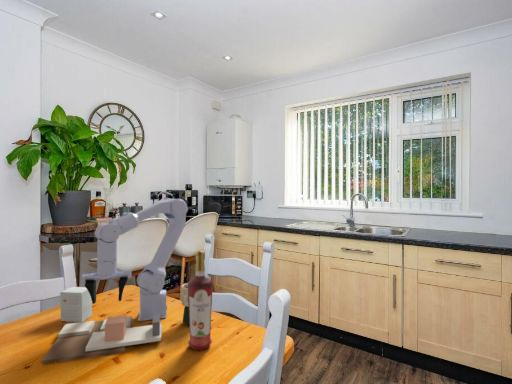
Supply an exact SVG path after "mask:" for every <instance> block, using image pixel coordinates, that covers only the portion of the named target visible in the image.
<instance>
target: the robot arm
mask: <svg viewBox="0 0 512 384" xmlns="http://www.w3.org/2000/svg"><path fill="white" fill-rule="evenodd" d="M188 211H189V208H188V205H187V203H186V201H185V200H184V199H182V198H169V197H167V198H164V199H161V200H158V201H156V202H154V203H153V204H151V205H148V206H146V208H144V209H141V210H140V211H137V212H136V213H134V212H130V211H129V212H127V211H126V212H123V213H122V215H120V216H119V217H116V218H114V219H113V218H111V219H108V221H109V222H108V223H107V222H102V223H100V224H99V225H98V226H97V227H96V228H95V231H94V237H95V239H97V243H96V244H97V247H96V249H97V250H96V254H97V255H96V257H97V258H96V259H97V260H96V261H97V263H96V264H97V267H96V268H97V269H96V270H97V271H96V272H92V273H84V274H82V275H81V283H84V287H86V288H87V290H88V292H89V294H90V296H91V299H92V305H95V304H96V303H97V281H102V280H104V281H105V280H117V279H118V282H117V283H118V302H122V300H123V292H124V289H125V287H126V286H125V285H126V284H127V282H128V279H132V270H118V268H117V267H118V262H117V261H118V257H117V255H118V246H117V243H118V242H117V241H118V239H119V237H120V236H122V235H124V234H127V233H128V232H130V231H132V230H134V229H136V228H138V226H139V225H140V222H143V221H144V220H147V219H149V218H151V217H154V216H156V215H159V214H163V215H164V216H165V217H166V218H167V221H168V223H169V225H168V228H167V229H166V231H165V234H164V235H163V238H162V239H161V242H160V244H159V246H158V247H157V250H156V252H155V254H154V256H153V257H152V259H151V261H150V263H148V264H147V265H145V266H144V268H143V270H141V272H140V273H139V274H138V275H137V278H136V284H137V286H139V312H138V318H137V321H138V322H142V321H151V320H152V321H153V314H160V319H167V310H168V304H167V290H166V289H163V288H164V285H165V279H166V276H167V272H166V266H167V264H168V262H169V260H170V258H171V256H172V254H173V252H174V250H175V247H176V245H177V243H178V241H179V239H180V237H181V236H182V232H183V230H184V228H185V226H186V218H187V213H188Z"/></svg>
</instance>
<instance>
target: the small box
mask: <svg viewBox="0 0 512 384" xmlns="http://www.w3.org/2000/svg"><path fill="white" fill-rule="evenodd" d="M59 299H60V322H62V321H66V322H65V323H67V322H69V323H79V322H86V320H88V319H89V318H90V317H92V315H93V304H92V299H91V296H90V294H89V292H88V290H87V288H86V287H85V286H84V287H83V286H71V287H68V288H66V289H64V290H62V291H60V298H59Z"/></svg>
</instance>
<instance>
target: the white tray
mask: <svg viewBox="0 0 512 384" xmlns="http://www.w3.org/2000/svg"><path fill="white" fill-rule="evenodd" d="M162 326H163V323H161V318H160V314H153V319H152V324H148V325H141V326H134V327H130V328H126V333H125V337H124V339H122V340H115V341H108V342H105V331H102V332H94V333H93V334H92V336H91V338H90V340H89V342H88V344H87V346H86V348H85V352H86V351H93V350H100V349H107V348H114V347H121V346H126V347H127V346H133V345H140V344H147V343H155V342H160V341H162V329H163V327H162Z"/></svg>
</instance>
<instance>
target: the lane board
mask: <svg viewBox="0 0 512 384" xmlns="http://www.w3.org/2000/svg"><path fill="white" fill-rule="evenodd" d="M106 321H107V318H105V319H104V320H99V321H95V320H89V321H83V322H70V323H66V324H64V325H63V327H62V329H60V331H59V333H58V334H57V339H56V340H55V341H54V343H52V344H53V345H51V347H50V349H49V350H48V351H47V353H46V354H45V356H44V357H43V359H42V360H41V365H42V364H43V365H48V364H47V363H50V364H56V363H55V362H57V363H61V362H62V361H63V362H69V361H76V360H83V359H88V358H89V359H90V358H96V357H101V356H107V355H115V354H123V353H125V352H126V351H125V350H126V347H127V346H121V347H114V348H107V349H100V350H93V351H86V352H85V348H86V346H87V344H88V342H89V340H90V338H91V336H92V334H93V333H94V332H102V331H105V323H106ZM132 322H133V316H131V315H130V316H126V328H132V327H131V326H132Z"/></svg>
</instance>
